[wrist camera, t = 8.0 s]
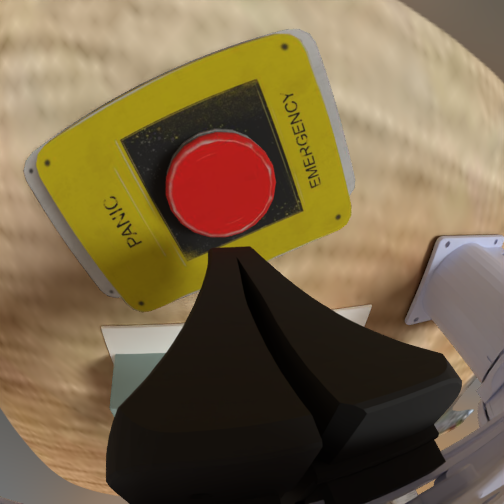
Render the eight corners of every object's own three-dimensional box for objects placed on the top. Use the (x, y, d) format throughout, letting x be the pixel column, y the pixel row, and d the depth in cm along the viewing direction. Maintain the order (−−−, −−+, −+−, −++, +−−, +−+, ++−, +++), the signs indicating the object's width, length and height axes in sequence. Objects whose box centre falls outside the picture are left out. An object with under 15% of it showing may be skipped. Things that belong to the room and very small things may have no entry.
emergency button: (397, 225, 13) (100, 351, 13) (353, 190, 17) (112, 295, 17) (349, 10, 8) (-23, 192, 8) (304, 25, 12) (22, 160, 12)
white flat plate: (370, 304, 21) (372, 306, 21) (334, 392, 27) (334, 394, 26) (101, 326, 17) (100, 328, 17) (135, 415, 23) (135, 417, 23)
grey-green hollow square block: (207, 348, 20) (216, 405, 16) (210, 398, 23) (218, 446, 19) (115, 351, 19) (109, 408, 15) (134, 401, 22) (133, 449, 18)
